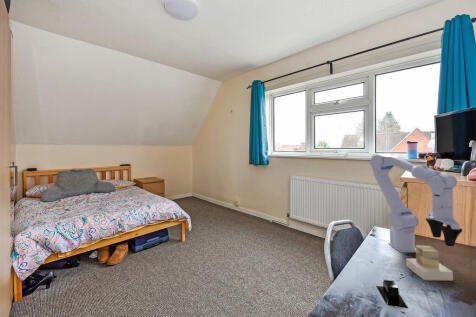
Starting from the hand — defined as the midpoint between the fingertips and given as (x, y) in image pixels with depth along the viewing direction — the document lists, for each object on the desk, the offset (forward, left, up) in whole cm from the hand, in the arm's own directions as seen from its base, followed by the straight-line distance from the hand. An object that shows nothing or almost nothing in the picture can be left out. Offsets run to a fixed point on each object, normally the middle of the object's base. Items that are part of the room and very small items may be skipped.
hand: (442, 241), depth 81 cm
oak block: (+5, -9, -6) cm, 12 cm away
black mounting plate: (+18, -29, -10) cm, 36 cm away
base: (+5, -9, -9) cm, 14 cm away
